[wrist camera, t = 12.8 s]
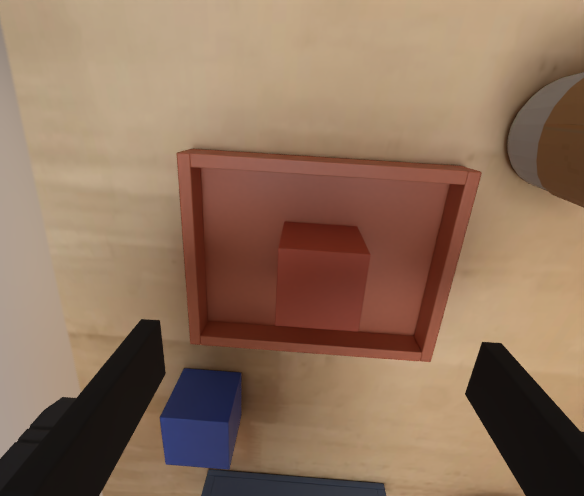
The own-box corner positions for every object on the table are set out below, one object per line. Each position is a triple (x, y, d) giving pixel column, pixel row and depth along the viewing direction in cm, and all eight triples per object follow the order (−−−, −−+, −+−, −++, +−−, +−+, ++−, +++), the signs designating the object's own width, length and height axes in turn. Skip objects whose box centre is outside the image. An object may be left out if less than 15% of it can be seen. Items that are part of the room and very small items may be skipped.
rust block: (280, 285, 24) (274, 325, 19) (284, 221, 22) (278, 248, 17) (348, 290, 24) (358, 332, 19) (357, 226, 22) (371, 254, 17)
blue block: (187, 410, 30) (165, 464, 25) (183, 367, 28) (159, 417, 23) (241, 415, 30) (229, 469, 25) (241, 372, 28) (228, 422, 23)
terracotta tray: (200, 323, 26) (189, 344, 24) (190, 148, 21) (175, 152, 19) (419, 339, 26) (431, 362, 23) (462, 165, 21) (482, 171, 18)
